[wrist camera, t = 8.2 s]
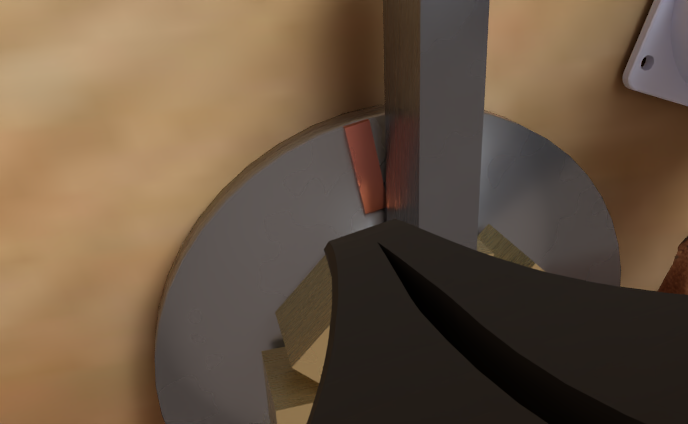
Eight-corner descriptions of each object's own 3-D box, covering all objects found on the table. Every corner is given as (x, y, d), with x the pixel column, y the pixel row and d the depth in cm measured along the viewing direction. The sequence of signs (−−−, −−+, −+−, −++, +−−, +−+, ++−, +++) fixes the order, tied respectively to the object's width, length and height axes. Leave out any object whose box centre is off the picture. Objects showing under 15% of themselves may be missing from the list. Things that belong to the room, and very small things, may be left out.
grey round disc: (213, 40, 18) (230, 73, 13) (671, 157, 24) (792, 206, 19) (117, 508, 23) (106, 645, 19) (508, 505, 30) (572, 608, 25)
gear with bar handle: (586, -86, 18) (661, -92, 15) (531, 433, 26) (573, 489, 23) (210, -69, 15) (219, -73, 13) (278, 496, 23) (293, 567, 21)
